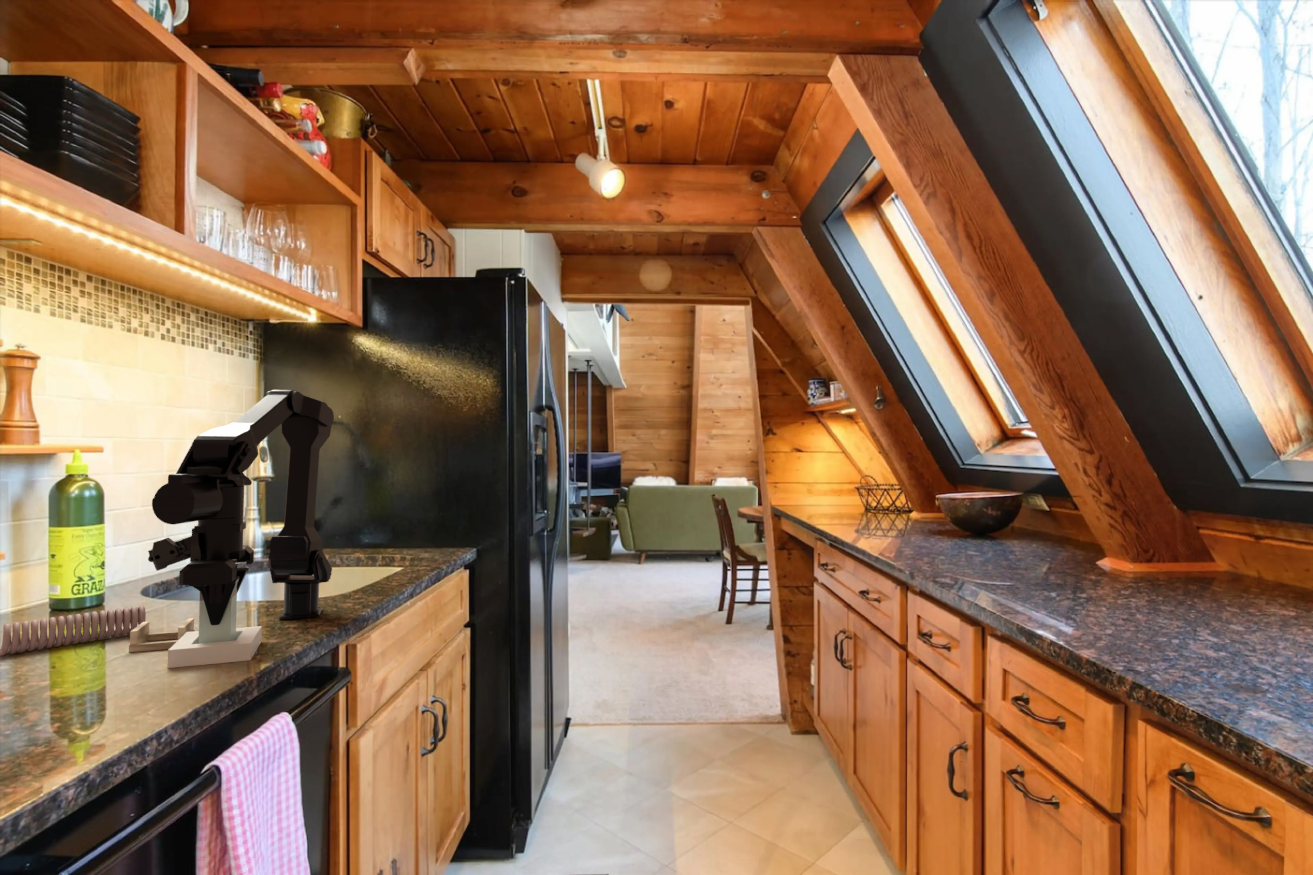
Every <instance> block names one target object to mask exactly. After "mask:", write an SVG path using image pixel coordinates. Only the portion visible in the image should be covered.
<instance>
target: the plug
mask: <svg viewBox="0 0 1313 875" xmlns="http://www.w3.org/2000/svg"><path fill="white" fill-rule="evenodd" d="M237 596H238V593H237V585H236V587H235V590H234V592H233V594H232V597H231V599H230V602H229V604H228V606H227V609H226V611H225V614H224V616H223V618H222V620H221V623H220V624H219V625H211V624H210V620H209V617H208V613H207V610H206V606H205V603H204V600H203V597H202V594H201V592H200V591H199V612H198V614H199V615H198V631H199V644H200V643H212V642H224V641H232V640H233V639H234V637H235V636H236V628H237V610H238V608H237V604H238V602H237V599H238V597H237Z"/></svg>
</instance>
